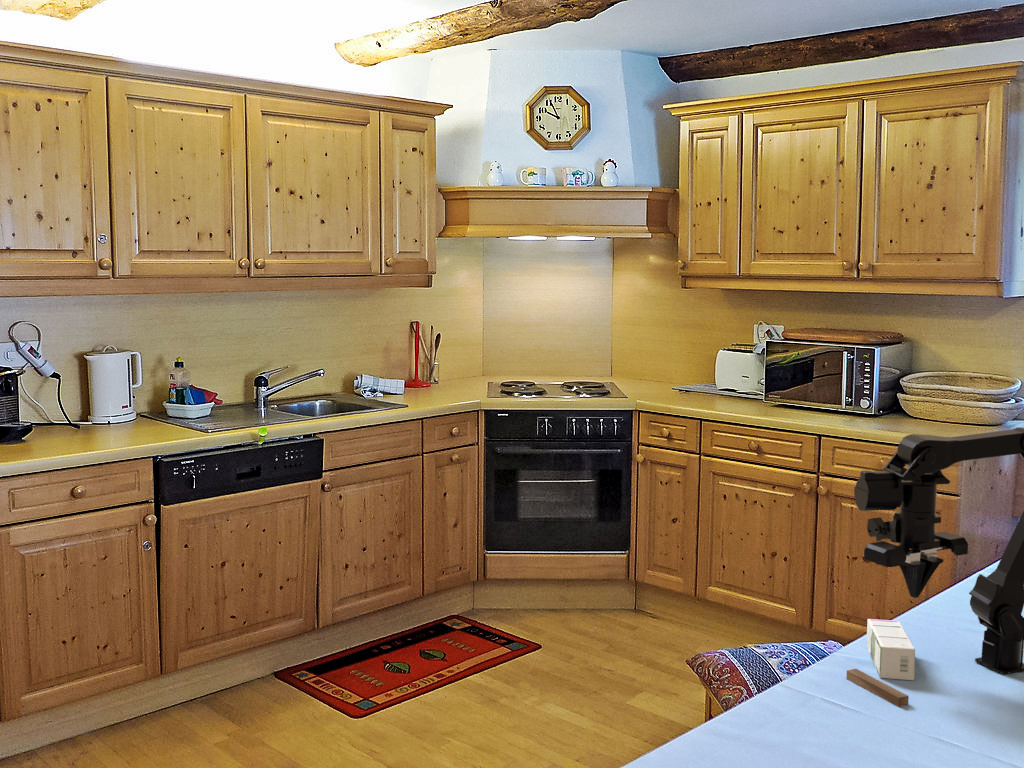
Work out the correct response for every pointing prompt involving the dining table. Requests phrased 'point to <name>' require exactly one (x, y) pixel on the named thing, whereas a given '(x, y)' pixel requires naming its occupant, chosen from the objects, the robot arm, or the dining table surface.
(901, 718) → the dining table surface
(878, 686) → the strip
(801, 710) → the dining table surface
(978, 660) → the robot arm
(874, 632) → the syrup box
